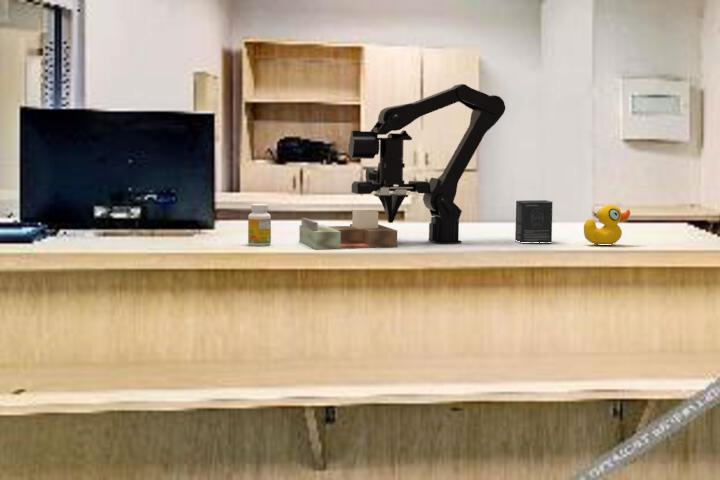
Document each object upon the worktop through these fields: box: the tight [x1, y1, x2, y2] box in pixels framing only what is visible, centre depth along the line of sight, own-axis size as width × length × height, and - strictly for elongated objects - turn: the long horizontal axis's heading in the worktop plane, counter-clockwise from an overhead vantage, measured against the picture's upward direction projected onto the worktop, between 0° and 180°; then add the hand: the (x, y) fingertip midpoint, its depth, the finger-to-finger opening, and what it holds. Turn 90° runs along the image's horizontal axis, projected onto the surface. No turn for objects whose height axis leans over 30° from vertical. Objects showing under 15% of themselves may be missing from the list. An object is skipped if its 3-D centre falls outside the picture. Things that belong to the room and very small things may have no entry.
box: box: [514, 199, 553, 244], centre depth 235 cm, size 8×6×11 cm
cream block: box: [351, 209, 379, 229], centre depth 228 cm, size 5×5×4 cm
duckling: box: [583, 204, 631, 245], centre depth 231 cm, size 11×5×10 cm, turn 95°
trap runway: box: [298, 217, 398, 250], centre depth 227 cm, size 20×16×6 cm
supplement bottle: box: [247, 203, 272, 247], centre depth 223 cm, size 5×5×10 cm
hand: (390, 222), depth 230 cm, fingers closed
